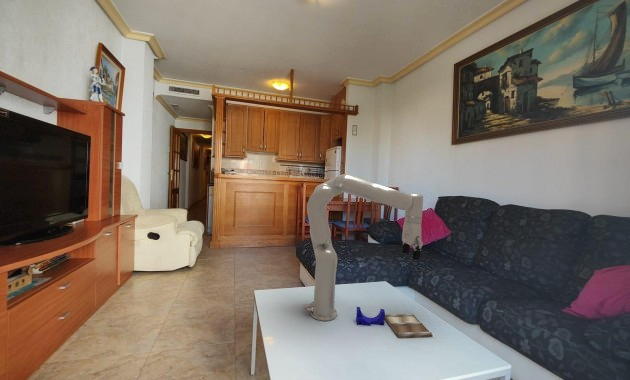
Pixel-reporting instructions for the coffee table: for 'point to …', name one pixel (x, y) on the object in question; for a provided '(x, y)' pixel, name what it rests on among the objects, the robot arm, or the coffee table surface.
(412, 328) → the organizer board
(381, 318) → the cable clip
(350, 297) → the coffee table surface
